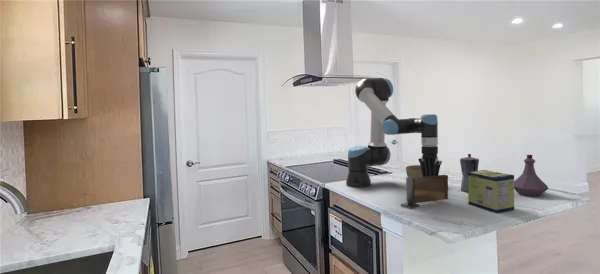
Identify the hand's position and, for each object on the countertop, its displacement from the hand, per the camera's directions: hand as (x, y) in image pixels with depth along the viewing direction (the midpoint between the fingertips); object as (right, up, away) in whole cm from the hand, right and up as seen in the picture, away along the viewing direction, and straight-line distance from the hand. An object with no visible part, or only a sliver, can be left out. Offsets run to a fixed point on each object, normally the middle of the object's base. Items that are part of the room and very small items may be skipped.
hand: (430, 192), depth 164 cm
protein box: (+21, -4, -15) cm, 26 cm away
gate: (-2, -3, -6) cm, 7 cm away
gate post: (-13, -5, -9) cm, 17 cm away
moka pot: (+27, -2, +13) cm, 30 cm away
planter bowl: (+6, -1, +30) cm, 31 cm away
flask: (+51, -1, +3) cm, 51 cm away
